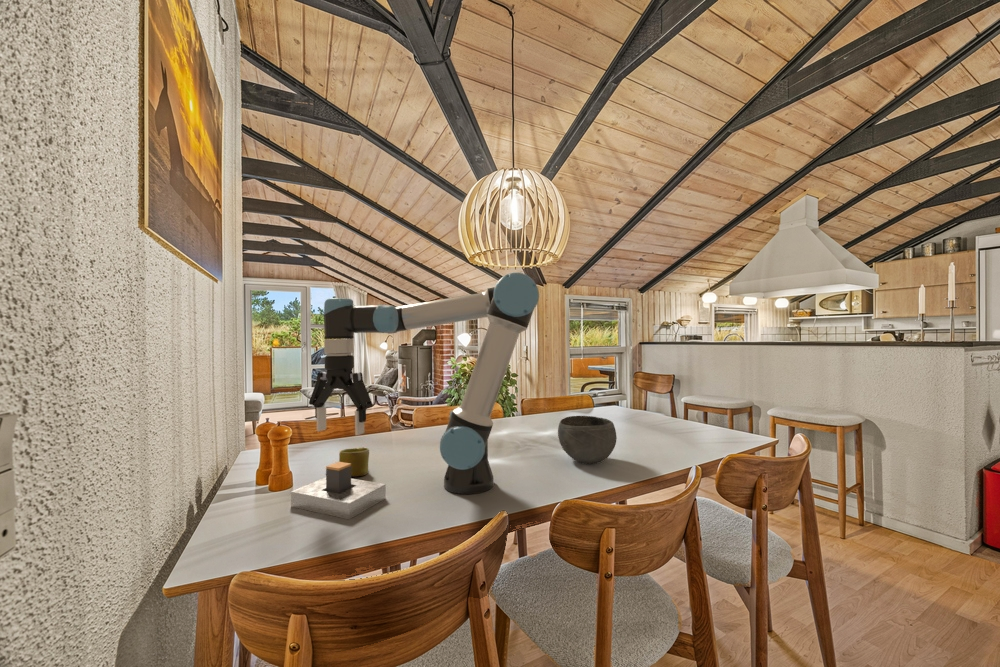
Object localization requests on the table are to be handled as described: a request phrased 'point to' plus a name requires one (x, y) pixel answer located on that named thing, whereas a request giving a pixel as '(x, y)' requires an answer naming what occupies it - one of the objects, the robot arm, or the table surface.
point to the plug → (338, 477)
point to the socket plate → (338, 498)
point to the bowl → (587, 438)
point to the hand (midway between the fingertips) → (340, 432)
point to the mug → (356, 460)
